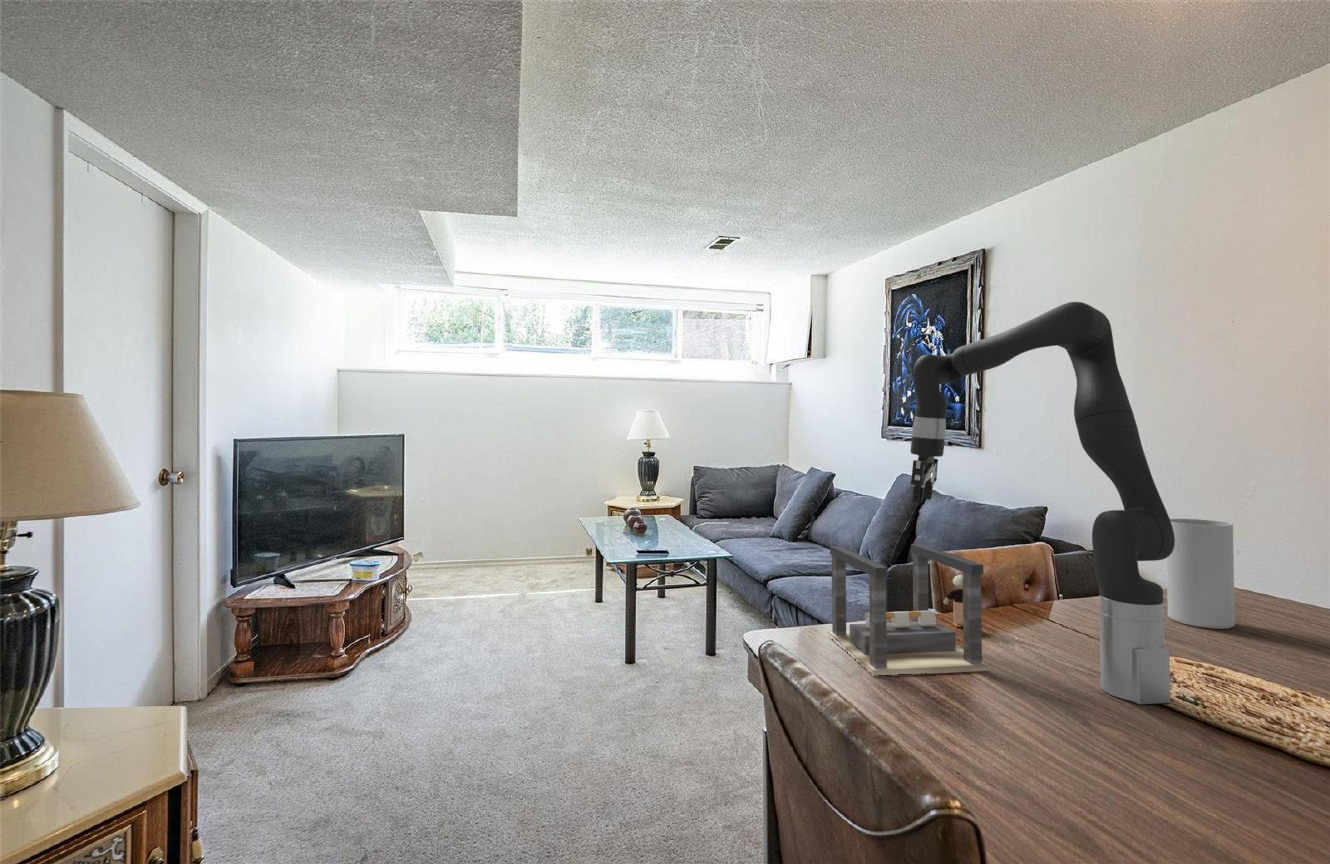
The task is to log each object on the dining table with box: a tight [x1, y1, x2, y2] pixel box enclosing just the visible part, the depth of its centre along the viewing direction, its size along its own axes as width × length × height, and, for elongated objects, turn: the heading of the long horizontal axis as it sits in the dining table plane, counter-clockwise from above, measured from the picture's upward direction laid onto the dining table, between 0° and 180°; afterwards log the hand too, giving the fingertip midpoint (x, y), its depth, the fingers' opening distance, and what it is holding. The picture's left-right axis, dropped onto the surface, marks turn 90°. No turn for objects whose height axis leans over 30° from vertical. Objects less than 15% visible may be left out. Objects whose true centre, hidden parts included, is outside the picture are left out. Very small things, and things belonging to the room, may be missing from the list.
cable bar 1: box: [829, 545, 889, 579], centre depth 130 cm, size 24×2×2 cm, turn 6°
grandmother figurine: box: [943, 574, 963, 626], centre depth 148 cm, size 8×4×13 cm, turn 84°
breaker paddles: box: [864, 609, 937, 627], centre depth 131 cm, size 2×15×3 cm, turn 96°
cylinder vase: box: [1166, 518, 1236, 630], centre depth 150 cm, size 12×12×25 cm
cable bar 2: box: [910, 543, 984, 576], centre depth 132 cm, size 24×2×2 cm, turn 6°
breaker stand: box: [827, 553, 989, 676], centre depth 131 cm, size 24×24×19 cm
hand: (922, 500), depth 150 cm, fingers open, 8 cm apart
